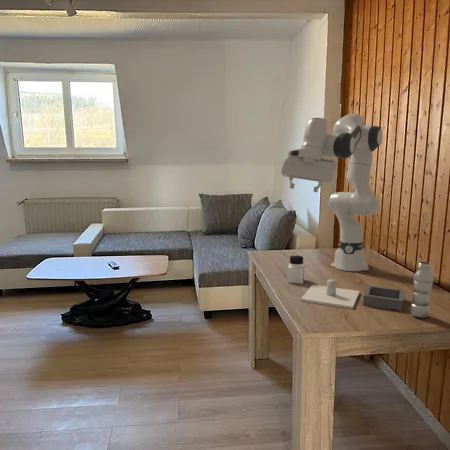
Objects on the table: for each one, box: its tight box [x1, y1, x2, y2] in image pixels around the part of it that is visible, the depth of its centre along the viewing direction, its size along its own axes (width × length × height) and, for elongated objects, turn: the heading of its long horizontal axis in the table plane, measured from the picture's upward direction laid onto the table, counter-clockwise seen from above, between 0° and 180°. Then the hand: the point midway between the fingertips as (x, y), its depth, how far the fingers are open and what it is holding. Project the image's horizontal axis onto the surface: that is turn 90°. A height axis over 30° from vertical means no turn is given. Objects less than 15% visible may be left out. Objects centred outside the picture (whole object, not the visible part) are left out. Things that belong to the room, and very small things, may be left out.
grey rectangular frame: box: [362, 285, 405, 311], centre depth 162 cm, size 14×14×4 cm
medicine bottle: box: [287, 254, 305, 285], centre depth 188 cm, size 7×7×12 cm
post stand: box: [300, 279, 361, 310], centre depth 167 cm, size 20×20×7 cm
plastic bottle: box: [409, 261, 435, 319], centre depth 146 cm, size 6×7×20 cm
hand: (303, 190), depth 161 cm, fingers open, 8 cm apart
